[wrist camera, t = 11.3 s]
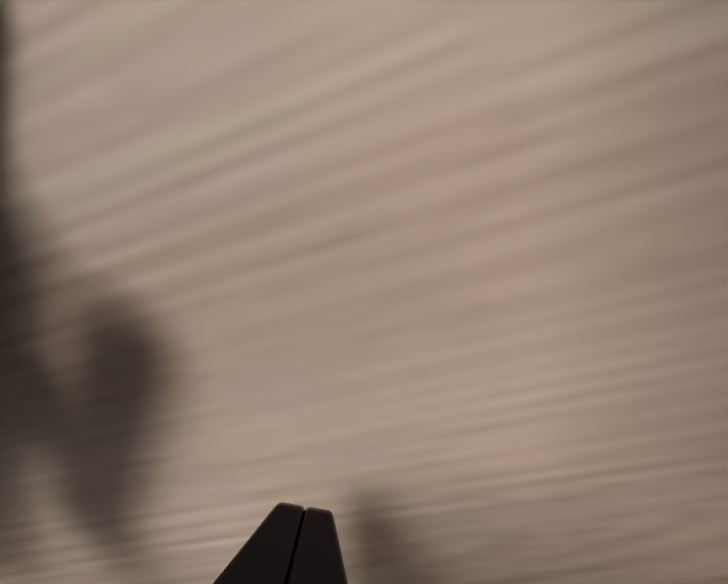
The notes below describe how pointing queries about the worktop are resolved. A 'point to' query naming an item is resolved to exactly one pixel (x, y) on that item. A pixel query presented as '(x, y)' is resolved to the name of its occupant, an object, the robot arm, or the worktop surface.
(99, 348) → the worktop surface
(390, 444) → the worktop surface
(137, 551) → the worktop surface
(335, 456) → the worktop surface
